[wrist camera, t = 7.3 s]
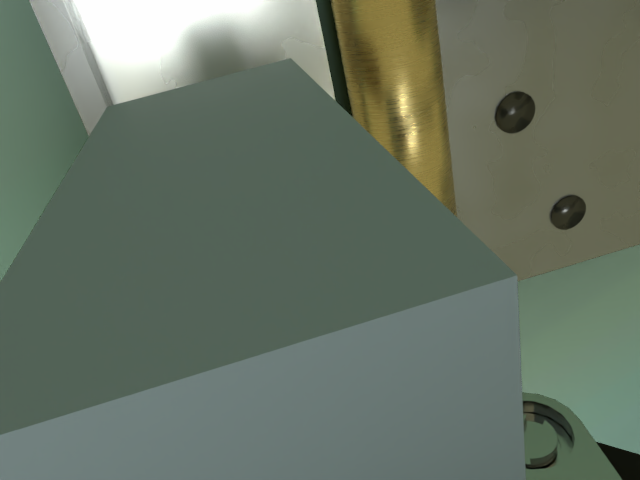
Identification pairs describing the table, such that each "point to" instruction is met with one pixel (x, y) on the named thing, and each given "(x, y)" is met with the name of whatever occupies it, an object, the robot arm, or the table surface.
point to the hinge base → (418, 96)
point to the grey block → (254, 305)
